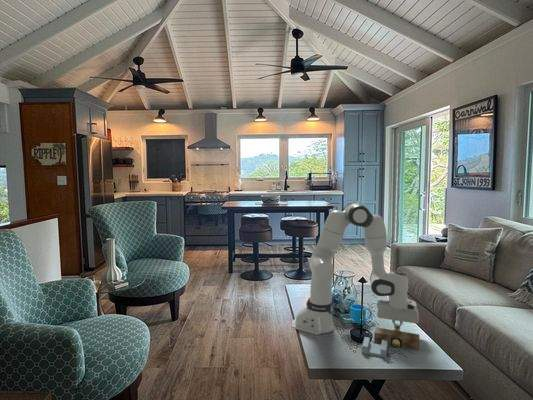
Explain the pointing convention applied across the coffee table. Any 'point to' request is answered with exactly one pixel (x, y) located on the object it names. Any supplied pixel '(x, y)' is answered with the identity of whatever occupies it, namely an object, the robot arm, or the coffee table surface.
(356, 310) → the mug
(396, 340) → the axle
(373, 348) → the cradle
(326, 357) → the coffee table surface
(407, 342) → the beam
